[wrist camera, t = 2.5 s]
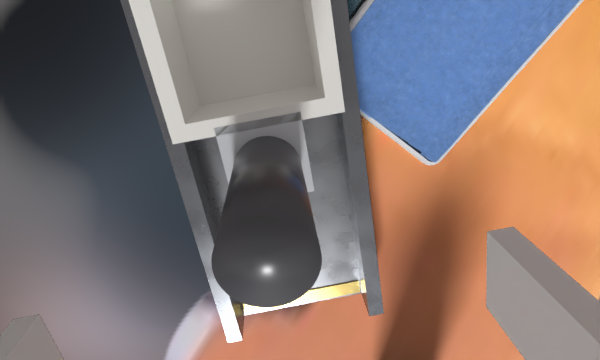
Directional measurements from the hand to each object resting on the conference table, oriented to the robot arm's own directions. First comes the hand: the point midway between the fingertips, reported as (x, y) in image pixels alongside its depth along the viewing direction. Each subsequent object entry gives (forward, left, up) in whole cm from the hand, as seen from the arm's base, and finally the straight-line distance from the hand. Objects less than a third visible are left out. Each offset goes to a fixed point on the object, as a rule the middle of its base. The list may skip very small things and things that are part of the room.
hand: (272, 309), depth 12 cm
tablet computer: (+15, +6, -21) cm, 27 cm away
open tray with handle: (0, +5, -19) cm, 20 cm away
